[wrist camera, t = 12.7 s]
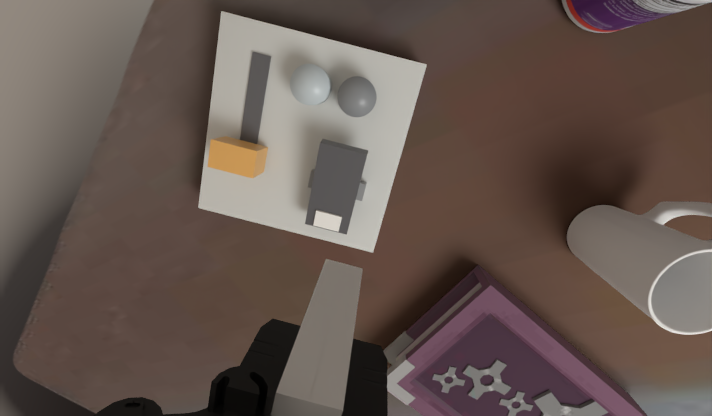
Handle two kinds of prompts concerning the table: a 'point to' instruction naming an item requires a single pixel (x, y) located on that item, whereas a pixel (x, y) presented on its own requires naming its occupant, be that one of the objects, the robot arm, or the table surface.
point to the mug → (650, 261)
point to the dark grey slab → (335, 185)
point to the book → (496, 361)
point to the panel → (303, 126)
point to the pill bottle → (622, 12)
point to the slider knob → (237, 156)
